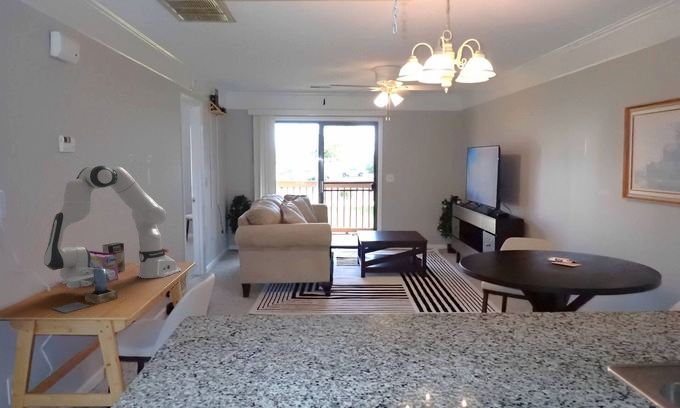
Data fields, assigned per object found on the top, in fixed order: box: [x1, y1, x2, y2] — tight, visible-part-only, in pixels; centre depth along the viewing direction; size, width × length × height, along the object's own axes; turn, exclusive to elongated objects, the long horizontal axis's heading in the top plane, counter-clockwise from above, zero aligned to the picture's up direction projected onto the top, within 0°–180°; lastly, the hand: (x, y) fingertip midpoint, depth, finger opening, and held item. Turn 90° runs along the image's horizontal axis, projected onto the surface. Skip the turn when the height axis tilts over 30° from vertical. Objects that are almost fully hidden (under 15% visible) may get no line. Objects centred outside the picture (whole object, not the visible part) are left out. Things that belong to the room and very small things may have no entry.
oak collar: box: [84, 287, 119, 305], centre depth 198 cm, size 9×9×4 cm
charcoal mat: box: [52, 301, 90, 314], centre depth 187 cm, size 10×10×1 cm
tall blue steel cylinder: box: [93, 268, 108, 295], centre depth 197 cm, size 5×5×14 cm
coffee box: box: [102, 242, 126, 273], centre depth 248 cm, size 9×6×16 cm
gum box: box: [88, 250, 119, 283], centre depth 234 cm, size 24×8×14 cm, turn 62°
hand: (100, 281), depth 197 cm, fingers open, 8 cm apart
